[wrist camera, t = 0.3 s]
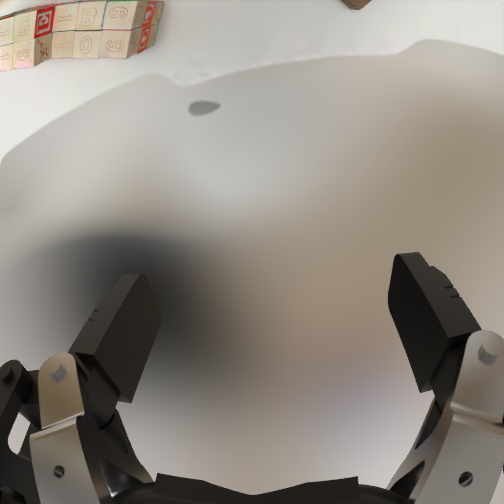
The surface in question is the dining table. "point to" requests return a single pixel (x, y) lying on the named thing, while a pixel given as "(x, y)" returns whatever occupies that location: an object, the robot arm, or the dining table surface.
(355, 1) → the board
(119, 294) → the robot arm
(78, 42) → the stack of blocks
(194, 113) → the dining table surface
